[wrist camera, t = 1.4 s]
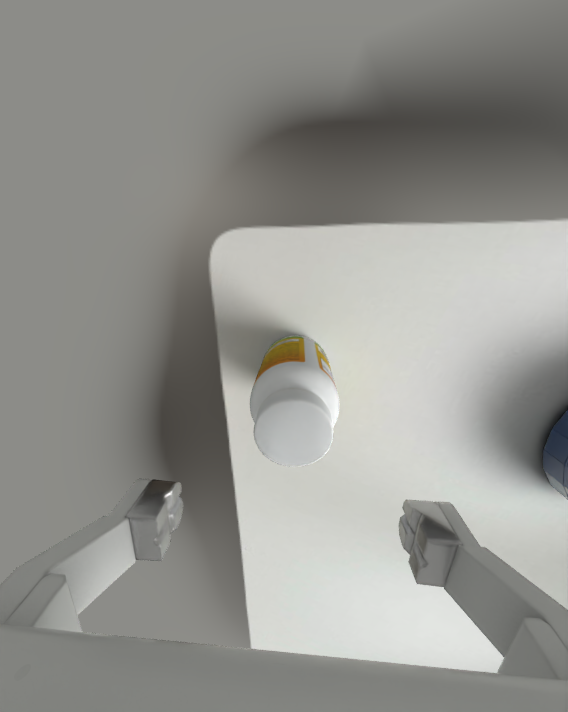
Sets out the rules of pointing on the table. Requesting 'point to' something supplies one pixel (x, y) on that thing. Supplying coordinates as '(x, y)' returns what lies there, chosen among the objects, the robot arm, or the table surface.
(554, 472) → the blue bowl
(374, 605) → the table surface
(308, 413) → the supplement bottle
